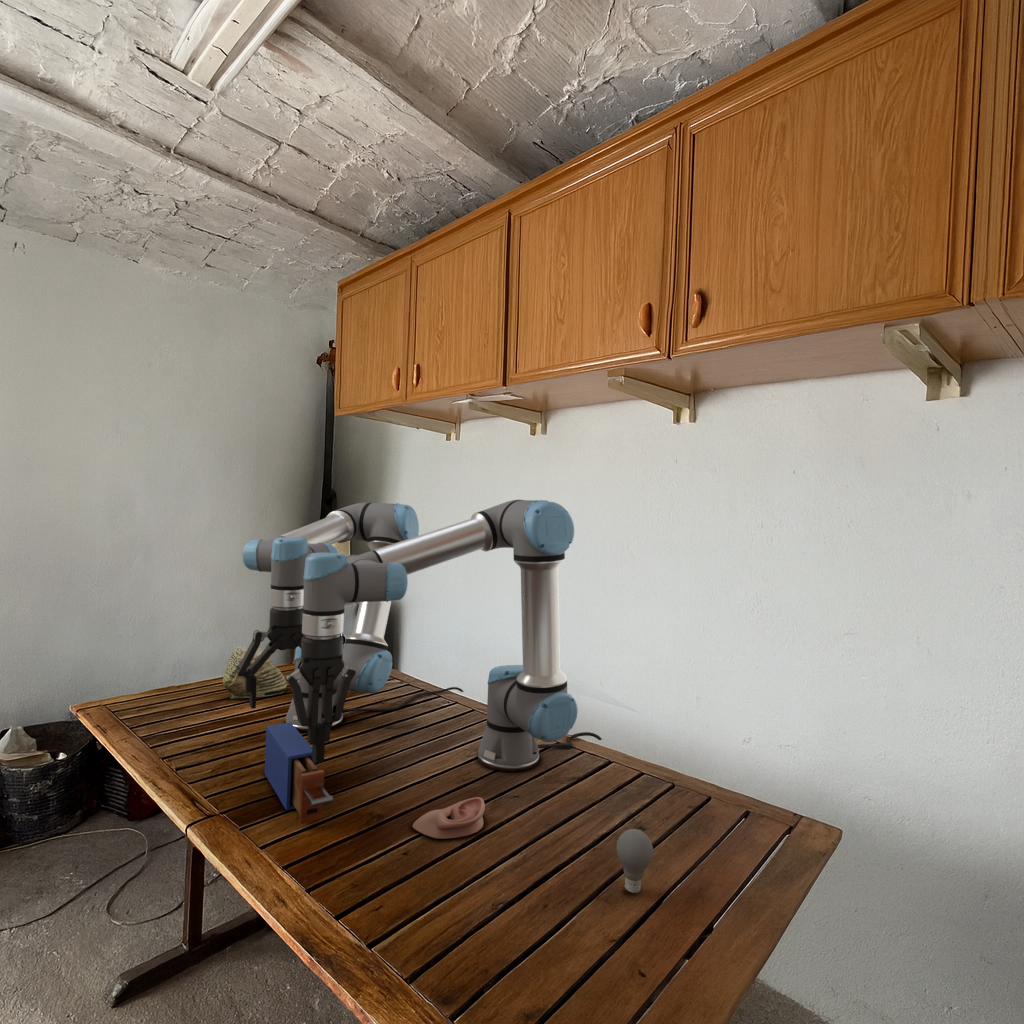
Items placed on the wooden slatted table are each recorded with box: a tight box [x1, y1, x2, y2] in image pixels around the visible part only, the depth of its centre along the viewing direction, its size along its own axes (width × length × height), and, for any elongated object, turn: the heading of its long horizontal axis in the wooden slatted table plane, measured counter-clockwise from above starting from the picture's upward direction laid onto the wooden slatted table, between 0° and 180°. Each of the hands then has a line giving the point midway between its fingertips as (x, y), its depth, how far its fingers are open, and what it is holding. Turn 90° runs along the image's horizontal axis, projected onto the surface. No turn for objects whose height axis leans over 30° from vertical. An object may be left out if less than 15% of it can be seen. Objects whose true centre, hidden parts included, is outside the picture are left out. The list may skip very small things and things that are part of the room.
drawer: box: [290, 756, 334, 825], centre depth 127 cm, size 24×4×9 cm, turn 34°
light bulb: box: [615, 828, 654, 894], centre depth 106 cm, size 6×6×10 cm
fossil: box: [222, 646, 288, 699], centre depth 198 cm, size 9×18×15 cm, turn 132°
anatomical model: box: [412, 796, 486, 840], centre depth 124 cm, size 13×4×12 cm
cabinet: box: [264, 722, 316, 811], centre depth 137 cm, size 19×5×11 cm, turn 34°
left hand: (284, 702), depth 141 cm, fingers open, 13 cm apart
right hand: (317, 759), depth 119 cm, fingers closed
